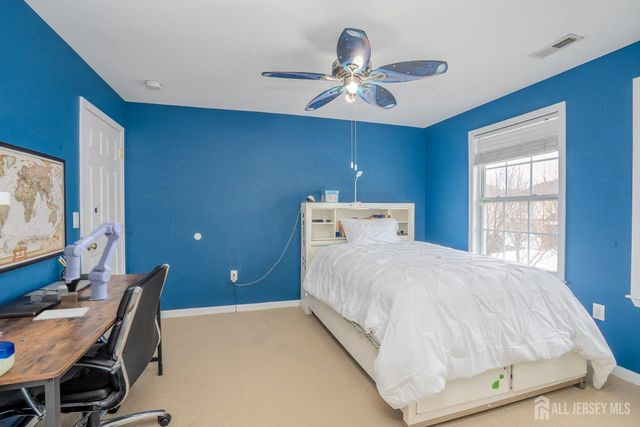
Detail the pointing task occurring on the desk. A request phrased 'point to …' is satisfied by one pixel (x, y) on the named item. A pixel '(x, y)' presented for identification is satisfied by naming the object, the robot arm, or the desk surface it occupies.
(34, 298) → the lighter
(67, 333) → the desk surface
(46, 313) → the mat
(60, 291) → the skincare box
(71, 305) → the brown wooden block
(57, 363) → the desk surface
